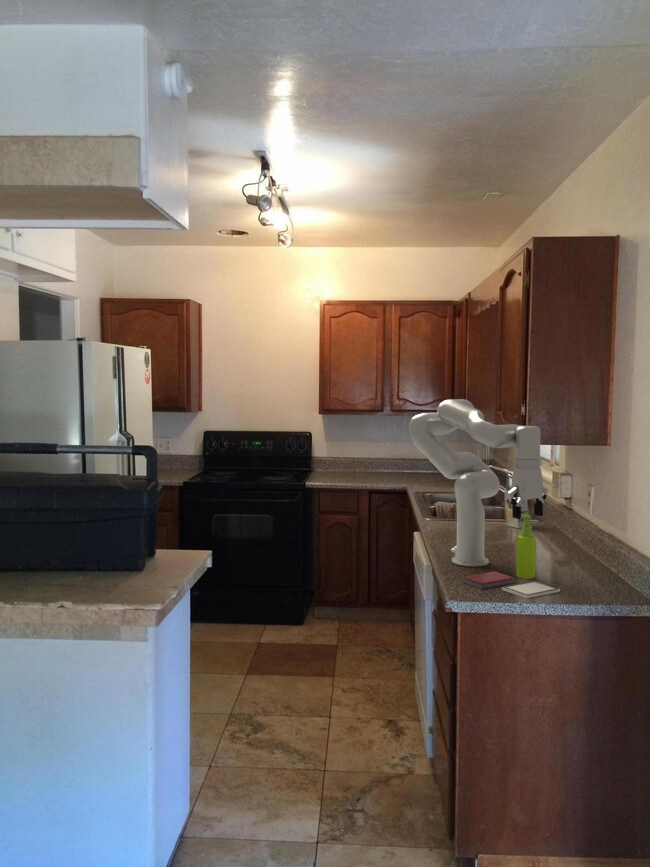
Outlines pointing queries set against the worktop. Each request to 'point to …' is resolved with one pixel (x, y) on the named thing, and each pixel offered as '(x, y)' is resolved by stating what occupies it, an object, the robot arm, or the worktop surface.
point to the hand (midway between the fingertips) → (527, 516)
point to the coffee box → (508, 512)
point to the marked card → (530, 589)
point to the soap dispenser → (526, 551)
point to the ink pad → (488, 580)
